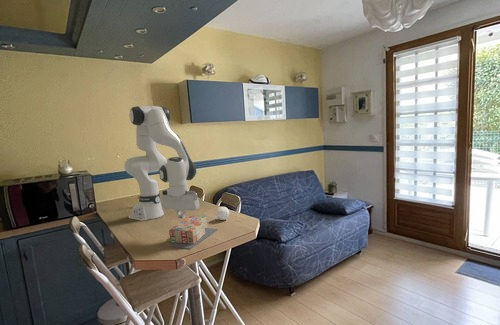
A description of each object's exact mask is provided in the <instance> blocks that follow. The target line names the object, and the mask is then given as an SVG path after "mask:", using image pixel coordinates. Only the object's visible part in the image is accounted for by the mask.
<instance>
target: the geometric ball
mask: <svg viewBox="0 0 500 325" xmlns="http://www.w3.org/2000/svg"><path fill="white" fill-rule="evenodd" d="M215 216H216V218H217V219H218V220H219V221H226V219H227V220H228V218H229V216H230V210H229V209H228V207H226V206H220V207H218V208H217V209H216V212H215Z"/></svg>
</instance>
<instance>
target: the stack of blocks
mask: <svg viewBox="0 0 500 325" xmlns="http://www.w3.org/2000/svg"><path fill="white" fill-rule="evenodd" d="M205 228H208V222H207V216H206V215H191V216H189V217H187V218H185V219H183V221H181V222H179V223H178V224H176V225H175V226H173V227H172V228H169V230H168V232H169V233H168V234H169V240H170V244H172V243H187V244H194V243H195V242H196V241H198V240H199V239H200V238H201V237H202V236H203V235H204V234H205Z"/></svg>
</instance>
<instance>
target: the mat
mask: <svg viewBox="0 0 500 325" xmlns="http://www.w3.org/2000/svg"><path fill="white" fill-rule="evenodd" d="M217 231H218V228H212V227H206V228H205V234H204V235H203V236H202V237H201V238H200V239H199V240H198V241H196V242H195V243H194V244H187V243H170V244H168V245H167V246H168V247H170V248H178V249H185V250H191V249H193V248H194V247H195V246H197V245H198V244H199V243H201V242H203V241H204V240H206V238H209V237H210V236H211V235H213V234H214V233H215V232H217Z"/></svg>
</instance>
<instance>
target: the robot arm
mask: <svg viewBox="0 0 500 325" xmlns="http://www.w3.org/2000/svg"><path fill="white" fill-rule="evenodd" d="M129 110H130V111H129V115H128V117H129V120H130V122H131V124H132V125H134V126H135V127H136V129H135V136H136V137H135V139H136V147H137V149H139V150H140V151H142V152H145V155H139V156H133V157H130V158H128V159H127V158H126V160H125V162H124V165H123V166H124V171H125V172H126V173H127V174H128V175H130V176H131V177H133V178H134V179H135V181H136V182H137V184H138V188H139V194H140V196H138V197H137V199H139V201H138V202H137V203H136V204H135V205H134V206H133V207H132V209H131V214H129V215H128V218H129V219H130V220H137V221H141V222H142V221H147V220H153V219H154V220H155V219H157V218H161V217H163V216H164V215H165V212H164V210H173V211H175V214H176V215H177V218H178V219H183V220H185V219H186V213H187V211H194V212H195V211H197V210H198V209H200V201H199V198H198V194H197V192H196V191H194V190H189V185H188V181H191V180H193V179H194V178H195V177H196V175H197V167H196V165H195V163H194V162H193V160H192V159H191V157H190V154H189V153H188V151H187V149H186V147H185V145H184V142H183V141H182V139H181V137H180V136H179V135H178V134H176V133H175V132H174V131H173V130H172V128H171V126H170V123H169V122H170V120H171V114H170V110H169V109H168V107H166V106H157V105H147V106H146V105H145V106H139V105H138V106H132V107H131V108H130V109H129ZM157 144H158V145H162V146H165V147H170V148H172V149H173V150H175V152H176V153H177V155H178V156H172V157H170V158H169V157H168V158H166V157H165V156H164V154H162V153H161V152H159V150H158V148H157ZM157 172H158V173H159V174H158V175H159V178H160V180H161V181H162V182H164V183H168V188H166V189H162V190H161V191H160V190H159V183H158V181H157V179H154V178H152V177H150V176H149V173H157Z"/></svg>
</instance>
